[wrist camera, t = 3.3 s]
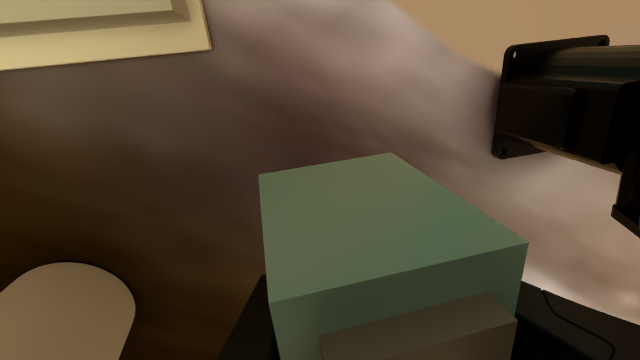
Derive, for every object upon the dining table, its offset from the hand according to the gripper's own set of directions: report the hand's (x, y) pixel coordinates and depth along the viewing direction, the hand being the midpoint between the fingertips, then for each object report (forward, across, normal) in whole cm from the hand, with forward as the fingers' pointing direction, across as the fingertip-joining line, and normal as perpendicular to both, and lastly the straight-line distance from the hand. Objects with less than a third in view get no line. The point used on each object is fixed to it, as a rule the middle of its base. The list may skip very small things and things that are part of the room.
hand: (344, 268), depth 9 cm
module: (+1, 0, 0) cm, 1 cm away
